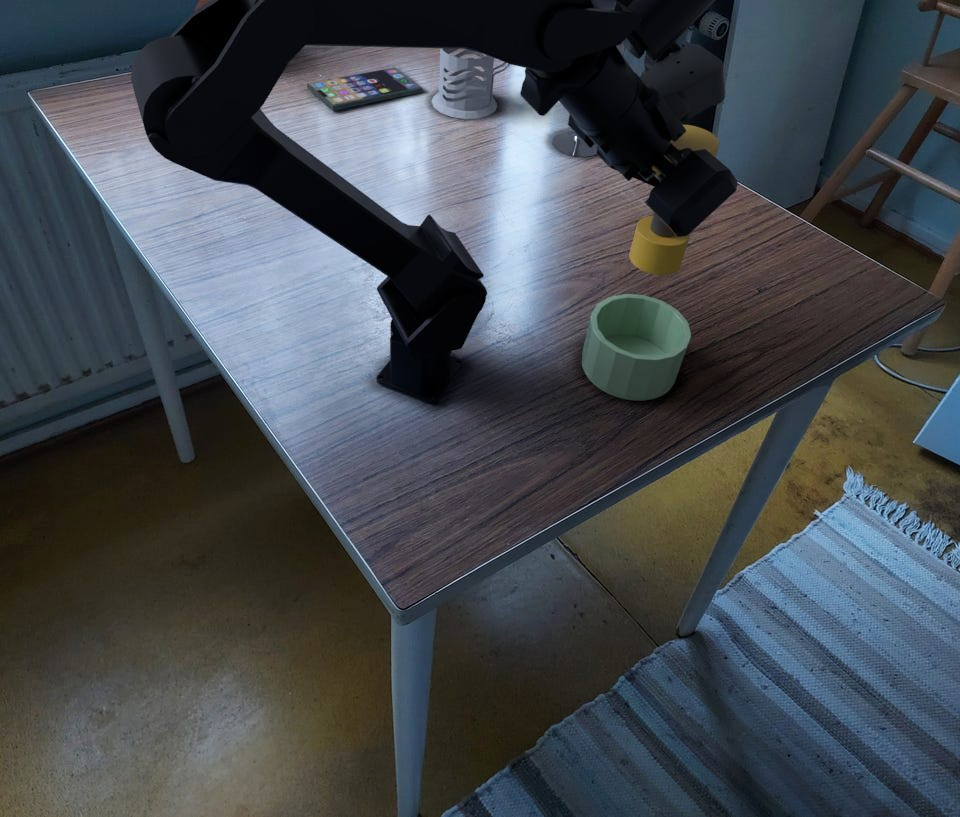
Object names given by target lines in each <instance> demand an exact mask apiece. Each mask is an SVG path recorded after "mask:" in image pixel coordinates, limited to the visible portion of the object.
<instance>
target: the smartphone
mask: <svg viewBox="0 0 960 817" xmlns="http://www.w3.org/2000/svg"><path fill="white" fill-rule="evenodd" d="M306 88H307V89H308V90H309V91H310V92H312V93H313V94H314V95H315V96H316V97H317V98H318V99H320V100H321V101H322V102H323V103H324V104H325V105H326V106H327V107H329V108H330V109H331V110H332V111H337V110H342V109H347V108H352V107H356V106H361V105H366V104H371V103H376V102H381V101H387V100H390V99H395V98H400V97H401V98H402V97H405V96H411V95H414V94H420V93H423V89H424V88H423V87H422V86H420V85H419V84H418V83H416V82H415V81H414V80H412V79H411V78H410V77H409V76H407V75H406V74H405V73H403V72H402V71H400V70H399V69H398V68H396V67H389V68H383V69H379V70H373V71H366V72H362V73H356V74H351V75H346V76H345V75H344V76H340V77H335V78H329V79H323V80H318V81H312V82H308V83H306Z"/></svg>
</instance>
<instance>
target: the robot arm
mask: <svg viewBox="0 0 960 817" xmlns="http://www.w3.org/2000/svg"><path fill="white" fill-rule="evenodd" d="M715 1H716V0H211V1H210V2H208V3H206V4H205V5H203V6H202V7H200V8H199V9H197V10H196V11H195V10H194V11H193V12H192V13H190V15H188V17H187V18H185V20H184V21H183V22H182V23H181V24H180V25H179V26H178V27H177V28H176V29H175V31H173V32H172V34H170V36H162V37H160V38H157V39H154V40H152V41H149V42H148V43H147V44H145V46H144V47H143V48H141V49H140V50H139V51H138V52H137V54H136V56H135V58H134V60H133V62H132V65H131V73H130V75H131V76H130V82H131V85H132V88H133V93H134V96H135V100H136V104H137V107H138V111H139V114H140V117H141V122H142V124H143V128H144V132H145V135H146V137H147V139H148V142H149V143H150V145H151V146H152V148H153V149H154V150H155V151H156V152H157V153H158V154H159V155H160V156H162V157H163V158H164V159H166V160H167V161H170V162H171V163H173V164H176V165H178V166H180V167H183V168H185V169H187V170H190V171H192V172H194V173H197V174H199V175H201V176H204V177H205V178H208V179H211V180H213V181H215V182H221V183H226V184H227V183H228V184H236V185H243V186H248V187H250V188H252V189H255V190H257V191H258V192H259V193H261V194H263V195H264V196H265V197H266V198H269V199H270V200H271V201H274V202H275V203H276V204H277V205H279V206H281V207H283V208H284V209H285V210H287V211H288V212H289V213H291V214H293V215H294V216H296V217H297V218H299V219H301V220H302V221H303V222H305V223H306V224H308V225H309V226H311V227H312V228H314V229H316V230H317V231H318V232H320V233H321V234H323V235H325V236H326V237H328V238H329V239H331V240H332V241H334V242H335V243H337V244H338V245H339V246H341V247H343V248H344V249H346V250H347V251H349V252H350V253H352V254H354V255H355V256H356V257H358V258H359V259H361V260H362V261H364V262H366V263H367V264H368V265H370V266H371V267H373V268H375V269H376V270H378V271H379V272H381V273H382V274H384V275H385V276H386V278H384V279H383V280H382V281H381V282H380V284H378V286H376V291H377V293H378V296H379V297H380V300H381V301H382V303H383V305H384V306H385V308H386V310H387V312H388V314H389V315H390V317H391V320H390V327H389V328H390V329H389V330H390V337H389V361H388V362H387V363H386V364H385V365H384V367H383V368H382V369H381V370H380V372H378V374H377V376H376V383H377V384H378V385H381V386H383V387H386V388H388V389H392V390H394V391H397V392H398V393H402V394H405V395H407V396H410V397H412V398H415V399H418V400H420V401H423V402H424V403H425V402H426V403H428V404H430V405H435V404H438V403H439V401H440V400H441V399H442V397H443V396H444V394H445V393H446V391H447V390H448V388H449V387H450V386H451V384H452V383H453V382H454V380H455V378H456V377H457V376H458V374H459V373H460V371H462V368H463V367H464V360H463V359H461V358H459V357H456V356H453V355H452V352H453V351H459V350H461V349H463V347H464V345H465V343H466V342H467V338H468V337H469V334H470V332H471V331H472V328H473V326H474V324H475V322H476V320H477V318H478V315H479V314H480V312H481V311H482V310H483V308H484V305H485V303H486V300H487V296H488V291H487V288H486V287H485V285H484V283H483V281H482V280H481V279H482V278H484V276H485V274H484V273H483V272H482V270H481V269H480V267H479V266H478V264H477V262H476V261H475V260H474V259H473V257H472V256H471V254H470V252H469V250H467V247H466V246H465V245H464V244H463V242H462V240H461V239H460V238H459V237H458V235H457V233H456V232H455V231H454V232H453V231H449V230H447V229H445V228H443V227H441V226H440V224H439V223H438V222H437V221H436V219H434V217H433V216H432V215H431V214H427V215H426V217H425V218H424V219H423V221H422V223H420V225H412V224H407V223H404V222H403V221H401V220H400V219H399V218H397V217H396V216H394V215H393V213H391V212H390V211H388V210H387V209H386V208H384V207H383V206H382V205H380V204H379V203H377V202H376V201H375V200H373V199H372V198H371V197H369V196H368V195H367V194H365V193H364V192H363V191H361V190H360V189H359V188H357V187H356V186H355V185H353V184H352V183H351V182H349V181H348V180H346V178H344V177H342V176H341V175H340V174H338V172H336V171H335V170H334V169H332V168H330V167H329V166H328V165H327V164H326V163H324V162H323V161H321V160H320V159H319V158H317V157H316V156H315V155H313V154H312V153H311V152H309V151H308V150H307V149H305V148H304V147H303V146H302V145H300V144H298V143H297V142H296V141H295V140H294V139H292V138H291V137H289V136H288V135H287V134H285V133H284V132H283V131H282V130H280V129H279V128H278V127H276V126H275V124H274V123H273V122H271V120H270V119H269V117H267V115H266V114H265V113H264V111H263V110H262V109H261V108H262V107H263V106H264V104H265V103H266V101H267V99H268V98H269V96H270V95H271V93H272V91H273V89H274V88H275V86H276V84H277V83H278V81H279V79H280V78H281V76H282V74H283V72H284V71H285V69H286V68H287V66H288V64H289V63H290V62H291V61H292V59H294V57H295V56H296V55H298V54H299V52H301V51H302V49H303V48H305V46H310V47H311V46H315V47H359V48H361V47H366V48H409V49H410V48H412V49H440V48H455V49H458V50H461V49H462V50H472V51H476V52H480V53H482V54H483V55H484V56H486V55H488V56H491V57H493V58H494V59H495V60H498V61H501V62H503V63H504V62H506V64H507V65H508V64H510V65H511V66H512V65H513V66H516V67H520V68H524V80H523V81H522V84H521V87H520V88H521V89H520V92H519V94H520V97H521V98H522V99H523V100H524V101H525V102H526V103H527V104H528V105H529V106H530V107H531V108H532V109H533V110H534V111H535V113H537V114H538V116H541V117H544V116H546V115H547V114H548V113H549V112H550V111H551V110H552V109H553V108H554V106H556V105H557V103H558V102H559V103H560V105H562V107H563V108H564V109H565V111H567V113H568V114H569V115H568V120H567V126H568V127H569V128H570V129H571V130H572V131H574V132H575V133H576V135H577V136H578V137H579V138H580V139H581V140H582V141H583V142H584V143H585V144H586V145H587V146H588V147H589V148H591V147H592V146H593V145H594V144H595V145H596V146H597V147H596V148H597V154H596V155H597V156H598V157H599V158H600V160H602V161H603V163H604V164H606V165H607V166H608V167H609V168H610V169H612V170H614V171H617V172H619V173H620V174H621V175H622V176H623V177H624V178H625V180H627V181H628V182H630V181H631V180H632V179H636V180H637V181H640V182H642V183H644V184H646V185H648V186H652V189H650V192H649V194H648V198H647V199H646V200H645V201H644V204H646V206H647V207H648V208H649V209H651V211H652V212H653V214H654V213H655V214H656V215H657V216H658V217H659V218H660V219H661V220H662V222H663V223H664V224H665V225H666V226H667V227H668V228H669V229H670V230H671V231H672V232H673V233H674V234H675V235H676V236H677V237H682V236H687V235H689V234H690V235H691V233H693V231H694V230H695V229H696V228H698V227H699V226H700V225H701V224H702V223H703V222H704V221H705V220H706V219H707V218H709V216H710V215H712V214H713V213H714V212H715V211H716V210H717V209H718V208H720V206H722V205H723V203H725V202H726V201H727V200H729V198H731V196H732V195H734V193H736V192H737V189H738V183H739V182H738V180H737V179H736V177H735V176H734V174H733V172H732V170H730V168H729V167H727V166H726V164H724V163H723V162H722V161H721V160H719V159H718V158H717V156H716V157H714V156H713V155H712V154H711V153H710V152H708V151H707V150H706V149H702V150H695V151H693V150H692V149H690V148H684V149H681V150H678V149H677V148H676V147H675V146H674V145H673V144H671V143H670V141H671V140H673V141H674V142H675V141H677V140H678V139H679V138H680V137H681V136H682V135H683V134H684V133H685V132H686V129H685V128H684V126H683V125H684V124H683V123H682V122H685V121H688V120H690V119H692V118H693V117H695V116H697V115H699V114H701V113H702V112H704V111H705V110H707V109H709V108H711V107H712V106H713V107H714V106H715V107H716V106H717V105H720V104H721V103H722V102H724V100H725V99H726V84H725V73H724V63H723V61H722V59H721V58H719V57H718V56H716V55H715V54H713V53H712V52H710V51H709V50H708V49H706V48H705V47H703V46H702V45H701V44H697V43H690V42H689V41H687V40H686V39H685V40H683V41H682V42H681V46H680V45H679V44H678V42H677V40H678V39H679V38H680V37H681V36H682V35H683V34H684V33H685V32H686V31H687V30H688V29H689V28H690V27H691V26H692V25H693V24H694V23H695V22H696V21H697V20H698V19H699V18H700V17H701V16H702V15H703V14H704V13H705V12H706V11H707V10H708V9H709V8H710V7H711V6H712V4H714V3H715ZM619 44H622V45H623V46H624V47H625V50H627V51H628V53H630V54H631V55H632V56H633V57H635V58H636V59H638V60H640V59H641V58H642V57H643V56H644V59H643V64H644V65H643V66H644V69H643V70H642V72H641V75H640V76H639V74H637V73H636V72H635V70H633V68H632V67H631V65H630V64H629V62H628V61H627V60H626V58H625V57H624V54H623V55H622V54H621V52H620V51H619V50H618V48H617V47H616V46H617V45H619ZM664 155H666V157H668V158H669V159H670V160H671V161H672V163H670V162H669V161H668V160H667V159H666V158H665V157H664ZM675 160H676V161H677V163H678V164H677V163H676V162H675ZM652 166H654V167H655V168H656V169H657V170H658V171H659V172H660V173H661V174H660V175H659V176H658V177H657V178H658V179H657V178H656V177H655V174H656V172H655V171H654V170H653V169H652Z"/></svg>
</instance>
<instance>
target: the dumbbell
mask: <svg viewBox="0 0 960 817" xmlns="http://www.w3.org/2000/svg"><path fill="white" fill-rule="evenodd" d="M682 125H683V126H684V128H685V129H686V132H685V133H684V134H683V135H682V136H681V137H680V138H679V139H678V140H677V141H675V142H674V141H673V140H671V141H670V143H671V144H673V145H674V146H675V147H676V148H677V149H678V150H681V149H684V148H690V149H692V150H693V151H695V150H702V149H706V150H707V151H708V152H710V153H711V154H712V155H713V156H714V157H716V158H717V155H718V151H719V148H720V140H719V138H718V137H717V136H716V135H715V134H714V133H712V132H711V131H709V130H707V129H705V128H702V127H699V126H696V125H691V124H682ZM664 157H665V158H666V159H667V160H668V161H669V162H670V163H672V161H671V160H670V159H669V158H668V157H666V155H664ZM675 162H676V163H677V161H676V160H675ZM677 164H678V163H677ZM652 169H653V170H654V171H655V172H656V174H655V177H656V178H657V177H658V176H659V175H660V174H661V173H660V172H659V171H658V170H657V169H656V168H655V167H654V166H652ZM657 179H658V178H657ZM690 238H691V233H690V234H689V235H687V236H682V237H677V236H676V235H675V234H674V233H673V232H672V231H671V230H670V229H669V228H668V227H667V226H666V225H665V224H664V223H663V222H662V220H661V219H660V218H659V217H658V216H657V215H656V214H655V213H654V212H653V215H647V216H645V217H642V218H640V219H639V221H637V224H636V226H635V231H634V235H633V238H632V242H631V246H630V249H629V255H628V256H629V257H628V258H629V261H630V262H631V264H632V265H633V266H634V267H636V268H637V269H639V270H640V271H642V272H644V273H647V274H649V275H654V276H669V275H672V274H674V273H676V272H678V270H679V269H680V268H681V265H682V264H683V260H684V257H685V254H686V251H687V248H688V244H689V241H690Z"/></svg>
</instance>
